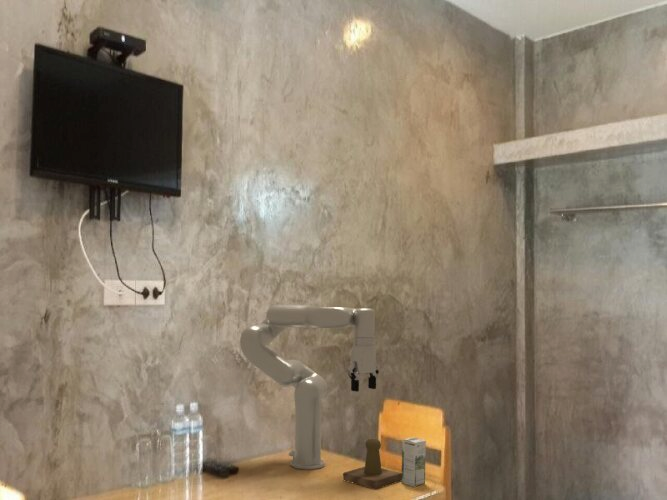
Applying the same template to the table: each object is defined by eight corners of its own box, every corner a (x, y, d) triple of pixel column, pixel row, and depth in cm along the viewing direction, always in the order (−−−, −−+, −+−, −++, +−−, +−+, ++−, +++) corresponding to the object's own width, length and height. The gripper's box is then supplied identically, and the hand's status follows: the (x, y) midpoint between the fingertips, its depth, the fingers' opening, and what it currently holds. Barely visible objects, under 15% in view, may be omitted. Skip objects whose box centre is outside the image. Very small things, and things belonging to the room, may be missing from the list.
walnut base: (343, 480, 212) (343, 472, 212) (369, 472, 222) (369, 465, 222) (375, 489, 202) (375, 481, 203) (401, 480, 213) (401, 473, 213)
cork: (380, 475, 209) (380, 441, 210) (362, 474, 211) (363, 440, 211) (383, 470, 215) (383, 438, 216) (365, 469, 216) (365, 437, 217)
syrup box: (411, 480, 213) (412, 436, 215) (425, 484, 209) (426, 439, 210) (401, 483, 209) (401, 439, 211) (415, 487, 205) (415, 442, 206)
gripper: (371, 340, 238) (370, 386, 237) (340, 342, 225) (340, 391, 224) (386, 341, 233) (386, 388, 232) (356, 343, 220) (356, 393, 219)
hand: (363, 389), depth 228 cm, fingers open, 9 cm apart
